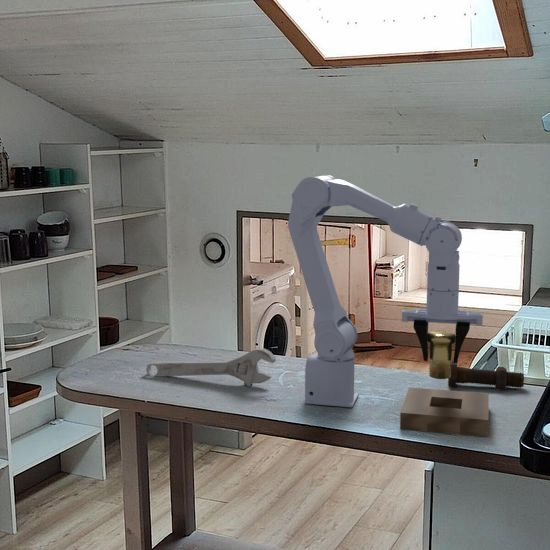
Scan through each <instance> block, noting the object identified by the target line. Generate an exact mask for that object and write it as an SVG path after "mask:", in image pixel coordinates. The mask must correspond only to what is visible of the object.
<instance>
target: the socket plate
mask: <svg viewBox="0 0 550 550" xmlns="http://www.w3.org/2000/svg"><path fill="white" fill-rule="evenodd" d="M489 397H490V396H489V393H488V392H487V393H486V392H475V391H473V392H472V391H462V390H461V391H459V390H447V389H437V388H436V389H435V388H423V387H422V388H421V387H411V386H410V387H408V389H407V392H406V395H405V398H404V401H403V405H402V408H401V411H400V414H399V424H400V425H399V429H400V430H408V431H409V430H410V431H421V432H429V433H431V432H432V433H444V434H451V435H453V434H454V435H464V436H465V435H467V436H477V437H488V436H489V435H488V434H489V432H488V431H489V399H490V398H489Z"/></svg>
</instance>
